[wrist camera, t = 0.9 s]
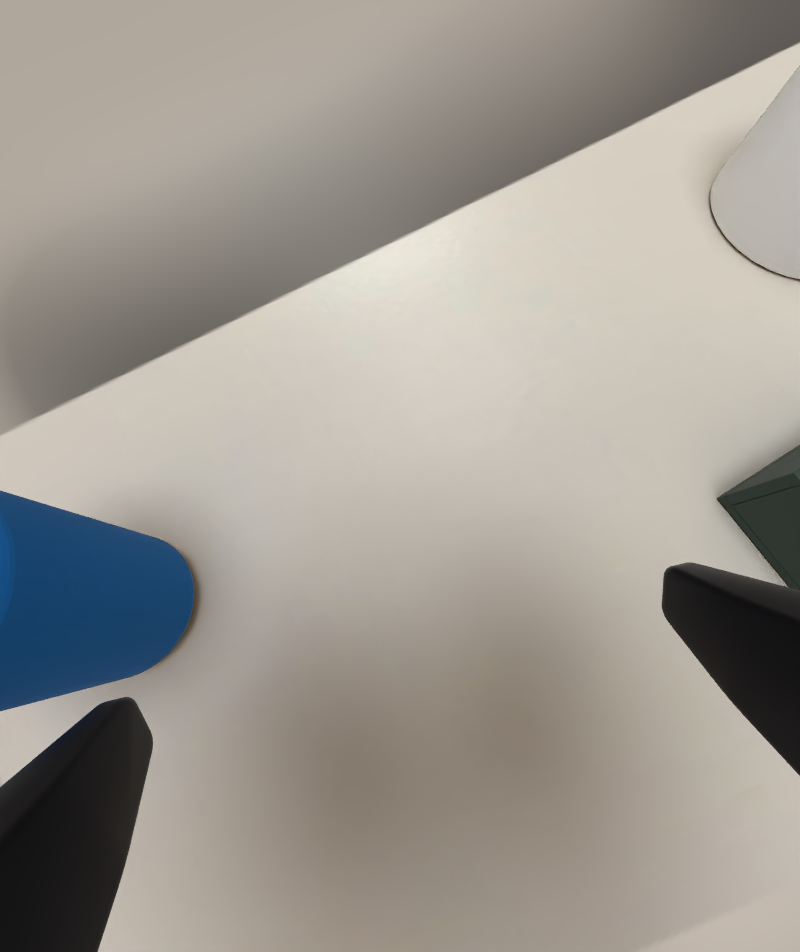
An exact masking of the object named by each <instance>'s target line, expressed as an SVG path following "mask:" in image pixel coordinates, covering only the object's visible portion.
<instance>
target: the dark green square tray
mask: <svg viewBox="0 0 800 952" xmlns="http://www.w3.org/2000/svg"><path fill="white" fill-rule="evenodd" d="M718 500H719V501H720V502H721V504H722V505H723V506H724V507H725V509H726V510H727V511H728V512H729V513H730V515H731V516H732V517H733V518H734V520H735V521H736V522H737V523H738V524H739V526H740V527H741V528H742V529H743V531H744V532H745V533H746V534H747V535H748V537H749V538H750V539H751V540H752V542H753V543H754V544H755V545H756V547H757V548H758V549H759V550H760V551H761V553H762V554H763V555H764V556H765V558H766V559H767V560H768V561H769V562H770V564H771V565H772V566H773V567H774V569H775V570H776V571H777V572H778V573H779V575H780V576H781V577H782V578H783V580H784V581H785V582H786V583H787V584H788V586H789V587H790V588H792V589H796V590H800V445H799V446H797V447H796V448H794V449H793V450H791V451H790V452H788V453H787V454H785V455H784V456H782V457H780V458H779V459H777V460H776V461H774V462H773V463H771V464H770V465H768V466H766V467H765V468H763V469H762V470H760V471H759V472H757V473H756V474H754V475H753V476H751V477H749V478H748V479H746V480H745V481H743V482H742V483H740V484H739V485H737V486H736V487H734V488H732V489H731V490H729V491H728V492H726V493H725V494H723V495H722V496H720V497H719V498H718Z"/></svg>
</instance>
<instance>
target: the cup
mask: <svg viewBox="0 0 800 952" xmlns="http://www.w3.org/2000/svg"><path fill="white" fill-rule="evenodd" d="M710 200H711V208H712V212H713V215H714V217H715V220H716V222H717V225H718V226H719V228H720V229H721V231H722V232H723V234H724V235H725V237H726V238H727V239H728V240H729V241H730V242H731V243H732V244H733V245H734V246H735V247H736V248H737V250H739V251H740V252H741V253H743V254H744V255H745V256H747V257H748V258H749V259H751V260H752V261H754V262H755V263H757V264H759V265H761V266H763V267H765V268H766V269H768V270H771V271H773V272H776V273H779V274H781V275H784V276H787V277H791V278H796V279H800V66H799V67H798V68H797V70H796V71H795V72H794V74H793V75H792V76H791V78H790V79H789V80H788V82H787V83H786V84H785V86H784V87H783V88H782V89H781V91H780V92H779V93H778V95H777V96H776V97H775V99H774V100H773V101H772V103H771V104H770V105H769V107H768V108H767V109H766V111H765V112H764V113H763V115H762V116H761V117H760V119H759V120H758V121H757V122H756V124H755V125H754V126H753V128H752V129H751V130H750V132H749V133H748V134H747V136H746V137H745V138H744V140H743V141H742V142H741V144H740V145H739V146H738V148H737V149H736V150H735V152H734V153H733V154H732V155H731V157H730V158H729V159H728V161H727V162H726V163H725V165H724V166H723V168H722V169H721V170H720V172H719V173H718V175H717V177H716V178H715V180H714V182H713V184H712V188H711V194H710Z"/></svg>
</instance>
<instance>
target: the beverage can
mask: <svg viewBox="0 0 800 952" xmlns="http://www.w3.org/2000/svg"><path fill="white" fill-rule="evenodd" d="M193 604H194V583H193V578H192V574H191V572H190V569H189V566H188V565H187V563H186V561H185V559H184V558H183V557H182V556H181V554H180V553H179V552H178V551H177V550H176V549H175V548H174V547H172V546H171V545H169V544H168V543H166V542H164V541H162V540H160V539H158V538H154V537H151V536H148V535H145V534H141V533H138V532H135V531H131V530H128V529H125V528H122V527H118V526H115V525H112V524H108V523H105V522H102V521H98V520H95V519H92V518H89V517H85V516H82V515H79V514H75V513H72V512H69V511H66V510H62V509H59V508H56V507H52V506H49V505H46V504H43V503H39V502H36V501H33V500H29V499H26V498H23V497H19V496H16V495H13V494H10V493H6V492H3V491H0V711H3V710H7V709H11V708H14V707H18V706H22V705H26V704H30V703H33V702H37V701H41V700H45V699H49V698H52V697H56V696H60V695H64V694H67V693H71V692H75V691H79V690H83V689H86V688H90V687H94V686H98V685H102V684H105V683H109V682H113V681H117V680H120V679H124V678H128V677H132V676H134V675H137V674H139V673H141V672H143V671H145V670H147V669H149V668H151V667H152V666H153V665H155V664H156V663H158V662H159V661H160V660H161V659H163V658H164V657H165V656H166V655H167V654H168V653H169V652H170V651H171V650H172V649H173V647H174V646H175V645H176V644H177V642H178V641H179V639H180V638H181V636H182V635H183V633H184V631H185V629H186V627H187V625H188V622H189V620H190V617H191V613H192V610H193Z"/></svg>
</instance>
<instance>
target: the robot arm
mask: <svg viewBox="0 0 800 952" xmlns="http://www.w3.org/2000/svg"><path fill="white" fill-rule="evenodd" d="M662 610H663V613H664V615H665V617H666V619H667V621H668V622H669V623H670V625H671V626H672V627H673V629H674V630H675V631H676V632H677V634H678V635H679V636H680V637H681V639H682V640H683V641H684V643H685V644H686V645H687V646H688V648H689V649H690V650H691V651H692V653H693V654H694V655H695V657H696V658H697V659H698V660H699V662H700V663H701V664H702V665H703V667H704V668H705V669H706V671H707V672H708V673H709V674H710V676H711V677H712V678H713V679H714V681H715V682H716V683H717V685H718V686H719V687H720V688H721V689H722V691H723V692H724V693H725V694H726V696H727V697H728V698H729V699H730V700H731V702H732V703H733V704H734V705H735V706H736V707H737V708H738V709H739V711H740V712H741V713H742V714H743V715H744V716H745V717H746V718H747V719H748V720H749V722H750V723H751V724H752V725H753V726H754V727H755V728H756V729H757V730H758V731H759V732H760V733H761V734H762V736H763V737H764V738H765V739H766V740H767V741H768V742H769V743H770V744H771V745H772V746H773V747H774V749H775V750H776V751H777V752H778V753H779V754H780V755H781V756H782V757H783V758H784V759H785V760H786V761H787V763H788V764H789V765H790V766H791V767H792V768H793V769H794V770H795V771H796V772H797V773H798V774H799V775H800V590H796V589H792V588H788V587H784V586H781V585H777V584H773V583H769V582H765V581H761V580H757V579H754V578H750V577H746V576H742V575H738V574H734V573H731V572H727V571H723V570H719V569H715V568H711V567H708V566H704V565H700V564H696V563H683V564H679V565H675V566H671V567H669V568H667V569H666V571H665V572H664V579H663V594H662ZM152 748H153V738H152V734H151V731H150V729H149V727H148V725H147V723H146V721H145V719H144V717H143V715H142V713H141V711H140V709H139V707H138V705H137V703H136V702H135V700H133V699H132V698H130V697H124V698H120V699H115V700H111V701H107V702H104V703H101V704H99V705H98V706H97V707H95V708H94V709H93V710H92V711H91V712H89V713H88V714H87V715H86V716H85V717H83V718H82V719H81V720H80V721H79V722H77V723H76V724H75V725H74V726H73V727H72V728H70V729H69V730H68V731H67V732H66V733H64V734H63V735H62V736H61V737H60V738H58V739H57V740H56V741H55V742H54V743H52V744H51V745H50V746H49V747H48V748H47V749H45V750H44V751H43V752H42V753H41V754H39V755H38V756H37V757H36V758H35V759H33V760H32V761H31V762H30V763H29V764H27V765H26V766H25V767H24V768H23V769H22V770H20V771H19V772H18V773H17V774H16V775H14V776H13V777H12V778H11V779H10V780H8V781H7V782H6V783H5V784H4V785H2V786H1V787H0V952H98V949H99V945H100V942H101V939H102V936H103V933H104V930H105V927H106V924H107V921H108V918H109V915H110V912H111V908H112V905H113V902H114V899H115V896H116V893H117V890H118V887H119V883H120V880H121V877H122V874H123V870H124V867H125V863H126V859H127V855H128V852H129V848H130V844H131V839H132V835H133V831H134V826H135V822H136V818H137V814H138V809H139V805H140V801H141V797H142V792H143V788H144V784H145V779H146V775H147V771H148V767H149V762H150V758H151V754H152Z"/></svg>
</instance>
